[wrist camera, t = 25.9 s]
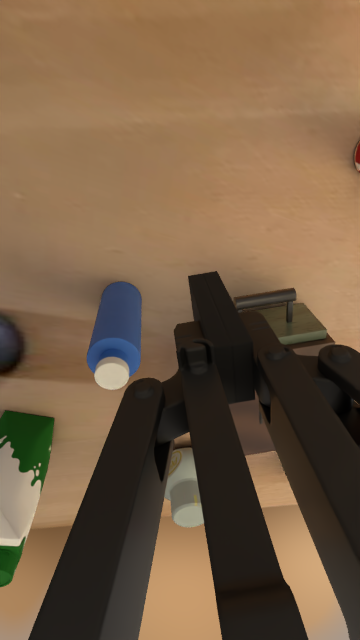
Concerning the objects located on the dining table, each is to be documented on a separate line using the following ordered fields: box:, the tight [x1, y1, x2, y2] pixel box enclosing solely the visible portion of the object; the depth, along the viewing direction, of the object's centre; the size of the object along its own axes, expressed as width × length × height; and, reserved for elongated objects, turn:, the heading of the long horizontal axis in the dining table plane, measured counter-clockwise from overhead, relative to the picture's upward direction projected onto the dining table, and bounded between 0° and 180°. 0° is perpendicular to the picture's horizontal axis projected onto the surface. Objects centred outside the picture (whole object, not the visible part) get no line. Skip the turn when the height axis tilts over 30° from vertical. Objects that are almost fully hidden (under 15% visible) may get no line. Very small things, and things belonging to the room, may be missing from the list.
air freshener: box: [164, 448, 204, 527], centre depth 55 cm, size 11×8×10 cm
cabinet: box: [229, 333, 335, 455], centre depth 47 cm, size 17×14×9 cm
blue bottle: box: [87, 282, 142, 390], centre depth 37 cm, size 5×5×16 cm
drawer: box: [234, 288, 327, 345], centre depth 45 cm, size 20×13×7 cm, turn 8°
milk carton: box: [0, 410, 54, 587], centre depth 44 cm, size 9×9×20 cm
